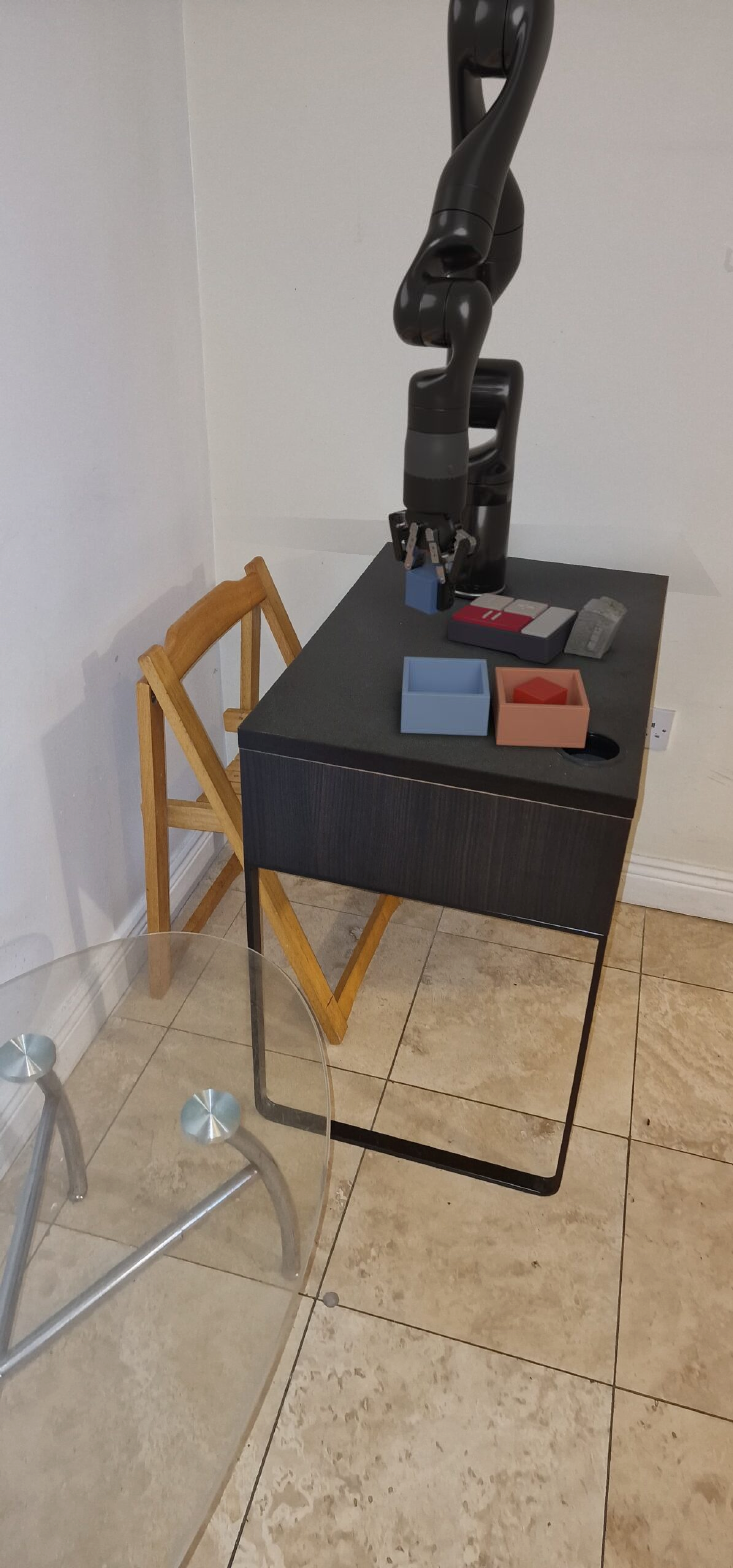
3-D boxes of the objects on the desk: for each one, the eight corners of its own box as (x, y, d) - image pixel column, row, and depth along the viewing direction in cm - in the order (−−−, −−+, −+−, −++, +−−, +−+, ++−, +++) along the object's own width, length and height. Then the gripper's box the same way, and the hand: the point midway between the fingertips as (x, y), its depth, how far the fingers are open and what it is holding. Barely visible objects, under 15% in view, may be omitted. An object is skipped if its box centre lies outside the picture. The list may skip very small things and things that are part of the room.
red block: (510, 720, 120) (513, 687, 118) (534, 709, 123) (538, 676, 120) (539, 734, 117) (543, 700, 115) (563, 722, 120) (568, 689, 118)
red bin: (492, 704, 125) (495, 666, 122) (574, 707, 125) (579, 669, 122) (496, 745, 117) (499, 705, 114) (584, 748, 116) (590, 708, 113)
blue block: (405, 604, 129) (406, 571, 126) (430, 595, 131) (431, 562, 129) (429, 615, 126) (431, 581, 123) (454, 606, 128) (456, 572, 126)
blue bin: (402, 693, 127) (404, 656, 124) (483, 696, 127) (486, 659, 124) (400, 733, 119) (401, 693, 116) (486, 736, 118) (490, 696, 116)
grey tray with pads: (483, 589, 147) (581, 607, 140) (482, 617, 149) (579, 636, 142) (446, 614, 139) (548, 634, 132) (446, 643, 141) (546, 664, 134)
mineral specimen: (556, 658, 135) (565, 597, 132) (573, 647, 142) (581, 589, 139) (612, 667, 132) (622, 605, 129) (625, 655, 139) (635, 596, 137)
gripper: (503, 474, 117) (492, 613, 126) (416, 448, 125) (412, 579, 135) (457, 487, 112) (449, 629, 122) (371, 459, 121) (369, 594, 131)
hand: (429, 602), depth 128 cm, fingers closed on blue block, 4 cm apart
